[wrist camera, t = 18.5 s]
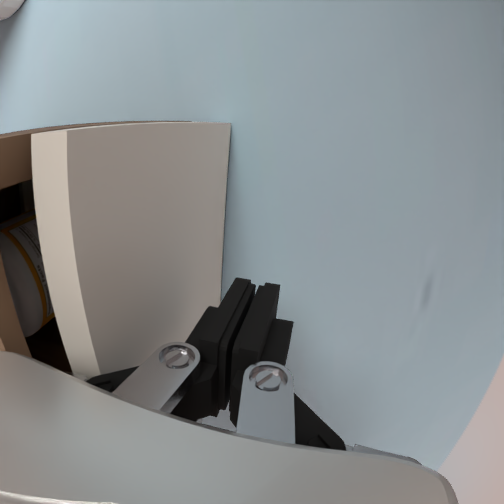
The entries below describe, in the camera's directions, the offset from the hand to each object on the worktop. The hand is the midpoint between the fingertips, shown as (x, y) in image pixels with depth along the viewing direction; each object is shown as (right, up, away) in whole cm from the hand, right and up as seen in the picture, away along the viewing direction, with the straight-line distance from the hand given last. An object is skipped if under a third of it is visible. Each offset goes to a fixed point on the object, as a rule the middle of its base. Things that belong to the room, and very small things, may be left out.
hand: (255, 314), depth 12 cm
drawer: (-8, +4, +7) cm, 11 cm away
